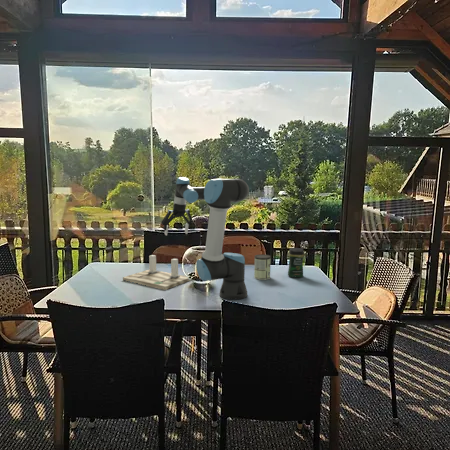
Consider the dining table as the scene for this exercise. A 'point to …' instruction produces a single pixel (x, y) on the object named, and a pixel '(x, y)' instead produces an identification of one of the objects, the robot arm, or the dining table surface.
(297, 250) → the coffee jar
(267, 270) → the coffee can
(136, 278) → the striped wooden board
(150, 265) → the grey lane knob
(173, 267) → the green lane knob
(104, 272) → the dining table surface
